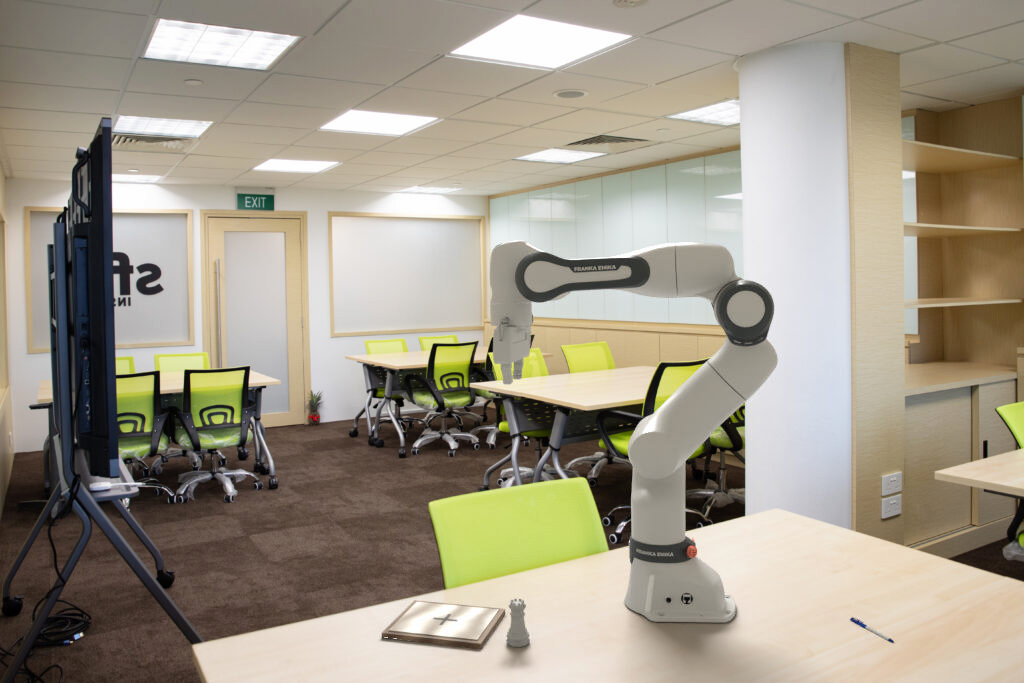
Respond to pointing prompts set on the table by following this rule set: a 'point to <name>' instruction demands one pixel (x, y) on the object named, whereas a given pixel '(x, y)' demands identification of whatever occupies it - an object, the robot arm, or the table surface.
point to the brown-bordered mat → (445, 624)
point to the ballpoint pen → (870, 629)
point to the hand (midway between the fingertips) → (512, 381)
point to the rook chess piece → (517, 625)
